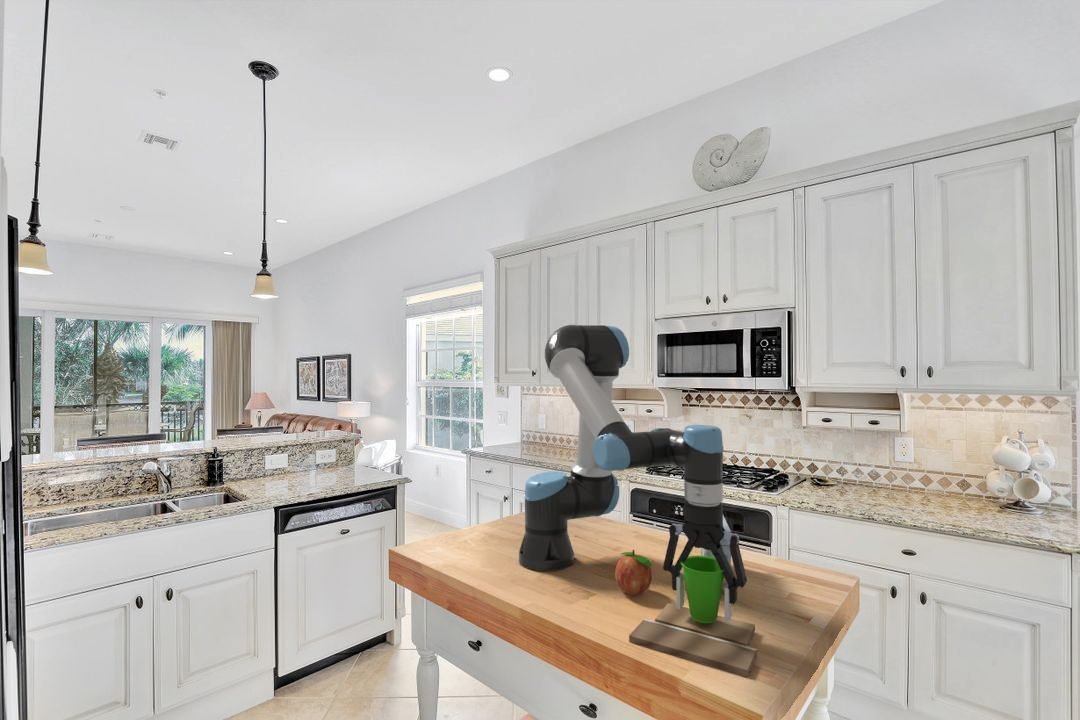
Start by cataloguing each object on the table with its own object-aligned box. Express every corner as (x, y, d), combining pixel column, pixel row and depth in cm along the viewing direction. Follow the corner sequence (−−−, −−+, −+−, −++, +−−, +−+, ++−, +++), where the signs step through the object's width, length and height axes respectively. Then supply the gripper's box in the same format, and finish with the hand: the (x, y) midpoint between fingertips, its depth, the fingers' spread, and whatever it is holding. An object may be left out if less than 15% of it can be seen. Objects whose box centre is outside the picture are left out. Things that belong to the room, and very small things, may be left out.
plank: (654, 625, 110) (654, 619, 110) (668, 608, 117) (668, 603, 117) (746, 650, 101) (746, 644, 101) (755, 630, 108) (754, 624, 108)
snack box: (733, 596, 124) (732, 531, 124) (707, 594, 125) (707, 530, 125) (721, 562, 145) (720, 506, 145) (699, 561, 146) (699, 505, 146)
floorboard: (629, 641, 104) (629, 634, 104) (644, 624, 111) (644, 618, 111) (747, 677, 92) (747, 669, 92) (756, 655, 99) (756, 648, 99)
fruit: (631, 604, 120) (630, 559, 120) (606, 588, 129) (606, 546, 129) (661, 596, 124) (660, 553, 124) (635, 581, 133) (635, 541, 133)
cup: (674, 608, 113) (674, 556, 113) (716, 606, 114) (715, 554, 114) (690, 629, 104) (689, 573, 104) (735, 627, 105) (734, 571, 105)
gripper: (645, 498, 112) (646, 606, 112) (756, 514, 100) (756, 635, 100) (658, 491, 118) (659, 593, 118) (763, 505, 106) (764, 618, 106)
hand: (703, 612), depth 109 cm, fingers closed on cup, 9 cm apart
